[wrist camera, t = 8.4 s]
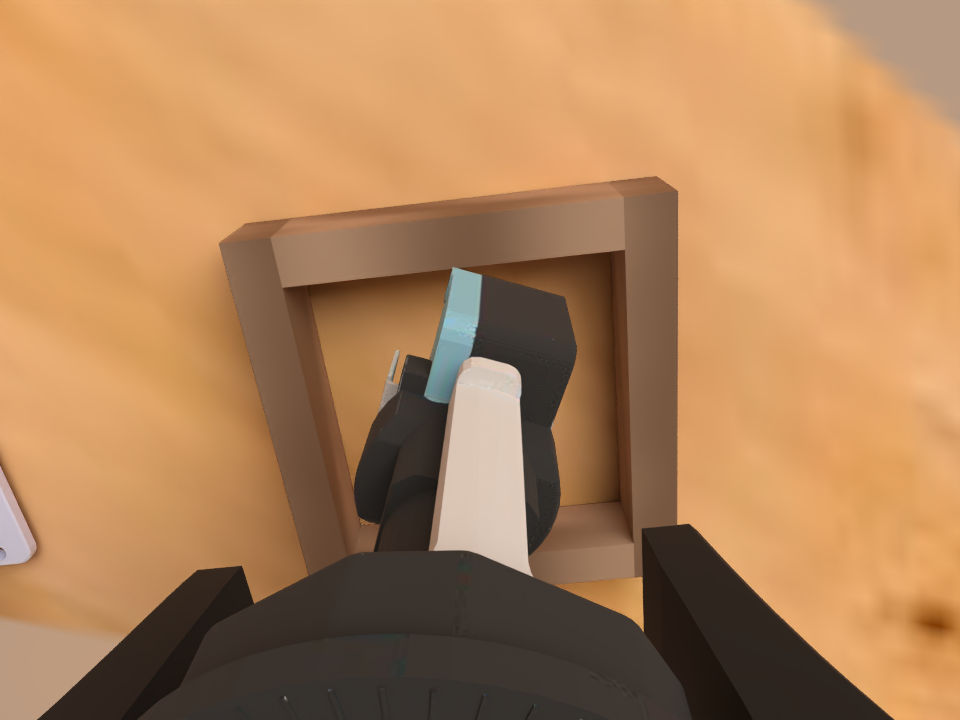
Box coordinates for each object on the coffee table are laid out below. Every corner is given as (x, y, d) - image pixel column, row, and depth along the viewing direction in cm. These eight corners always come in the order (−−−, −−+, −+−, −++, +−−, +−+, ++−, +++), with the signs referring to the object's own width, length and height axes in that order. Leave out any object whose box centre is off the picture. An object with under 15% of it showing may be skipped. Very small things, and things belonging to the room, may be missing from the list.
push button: (536, 566, 15) (587, 1320, 6) (301, 511, 15) (-2, 1244, 6) (645, 295, 13) (1009, 960, 4) (359, 217, 12) (-49, 762, 3)
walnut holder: (330, 560, 22) (317, 606, 20) (245, 223, 18) (218, 243, 16) (660, 529, 21) (677, 573, 20) (656, 176, 17) (677, 190, 15)
